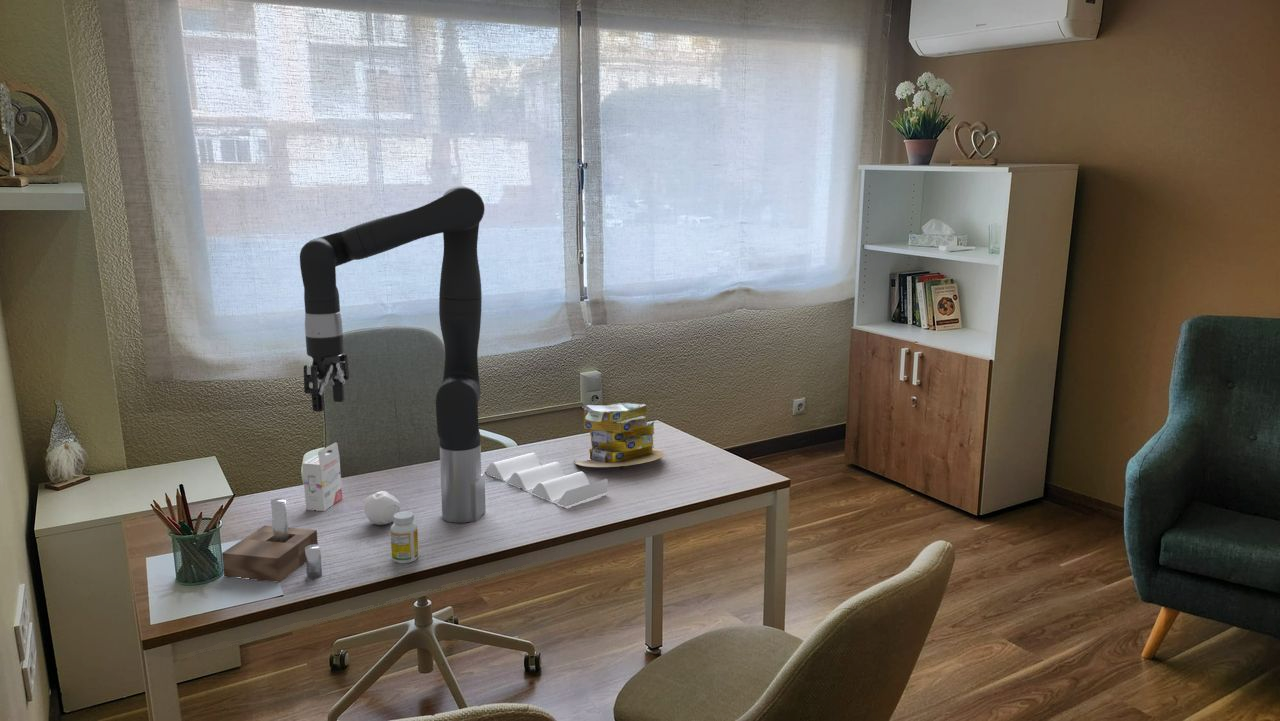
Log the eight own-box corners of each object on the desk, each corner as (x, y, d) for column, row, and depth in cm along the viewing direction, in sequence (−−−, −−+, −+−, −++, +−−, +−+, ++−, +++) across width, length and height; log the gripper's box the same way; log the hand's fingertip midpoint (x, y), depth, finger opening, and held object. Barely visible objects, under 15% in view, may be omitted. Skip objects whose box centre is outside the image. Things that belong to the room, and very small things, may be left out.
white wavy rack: (523, 464, 241) (523, 446, 240) (607, 498, 217) (607, 478, 216) (483, 474, 233) (483, 456, 231) (566, 511, 208) (566, 491, 207)
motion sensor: (406, 518, 201) (404, 486, 199) (391, 531, 194) (390, 498, 192) (373, 516, 202) (372, 484, 201) (358, 528, 195) (356, 496, 193)
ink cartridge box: (324, 497, 214) (320, 439, 210) (343, 499, 213) (339, 441, 210) (304, 510, 205) (300, 450, 202) (323, 512, 204) (319, 452, 201)
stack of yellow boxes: (559, 458, 245) (558, 400, 242) (634, 444, 258) (635, 390, 254) (601, 484, 225) (601, 422, 221) (681, 468, 237) (682, 409, 234)
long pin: (293, 558, 180) (288, 498, 177) (285, 563, 177) (280, 503, 174) (280, 556, 180) (276, 497, 178) (272, 562, 178) (267, 502, 175)
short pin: (324, 573, 173) (322, 545, 172) (317, 579, 171) (315, 550, 169) (311, 571, 174) (309, 543, 172) (304, 578, 171) (302, 549, 170)
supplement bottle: (401, 566, 177) (399, 522, 175) (386, 558, 180) (384, 515, 178) (424, 557, 181) (422, 514, 179) (408, 550, 184) (406, 507, 182)
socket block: (318, 552, 183) (316, 530, 182) (279, 582, 169) (277, 558, 168) (266, 547, 185) (264, 525, 184) (224, 576, 171) (221, 553, 170)
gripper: (322, 339, 179) (327, 416, 182) (356, 328, 193) (360, 399, 196) (289, 338, 180) (294, 413, 184) (325, 326, 194) (330, 397, 197)
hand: (328, 406), depth 190 cm, fingers open, 8 cm apart
